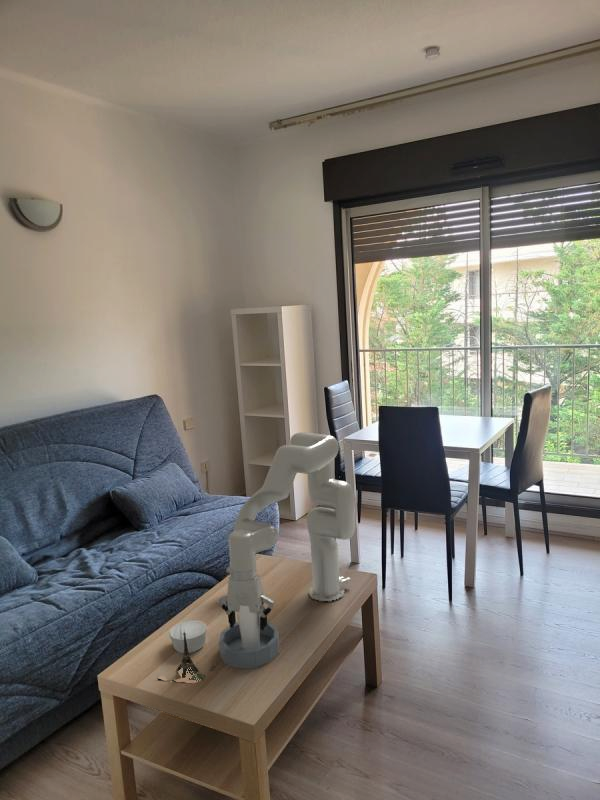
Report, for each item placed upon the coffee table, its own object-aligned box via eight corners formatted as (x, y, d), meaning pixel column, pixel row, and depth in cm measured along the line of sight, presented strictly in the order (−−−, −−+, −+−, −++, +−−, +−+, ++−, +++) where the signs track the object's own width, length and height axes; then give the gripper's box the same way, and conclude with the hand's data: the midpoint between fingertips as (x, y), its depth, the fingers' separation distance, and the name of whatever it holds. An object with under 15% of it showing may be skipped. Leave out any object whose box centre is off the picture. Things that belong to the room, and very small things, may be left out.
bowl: (262, 628, 186) (261, 614, 185) (289, 654, 171) (288, 638, 170) (212, 647, 177) (210, 631, 176) (235, 675, 162) (234, 659, 161)
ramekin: (163, 647, 179) (162, 631, 178) (193, 631, 187) (191, 616, 186) (185, 660, 171) (184, 643, 170) (215, 643, 179) (213, 627, 178)
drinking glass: (259, 654, 170) (255, 606, 168) (237, 653, 171) (233, 605, 169) (265, 641, 176) (261, 595, 174) (243, 640, 178) (239, 594, 175)
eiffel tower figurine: (154, 682, 162) (149, 638, 160) (170, 661, 172) (166, 619, 170) (204, 687, 159) (200, 642, 157) (217, 665, 168) (214, 622, 166)
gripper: (211, 576, 169) (216, 630, 171) (268, 579, 164) (272, 635, 167) (221, 565, 176) (225, 617, 178) (275, 568, 171) (279, 622, 174)
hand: (248, 626), depth 173 cm, fingers open, 9 cm apart
